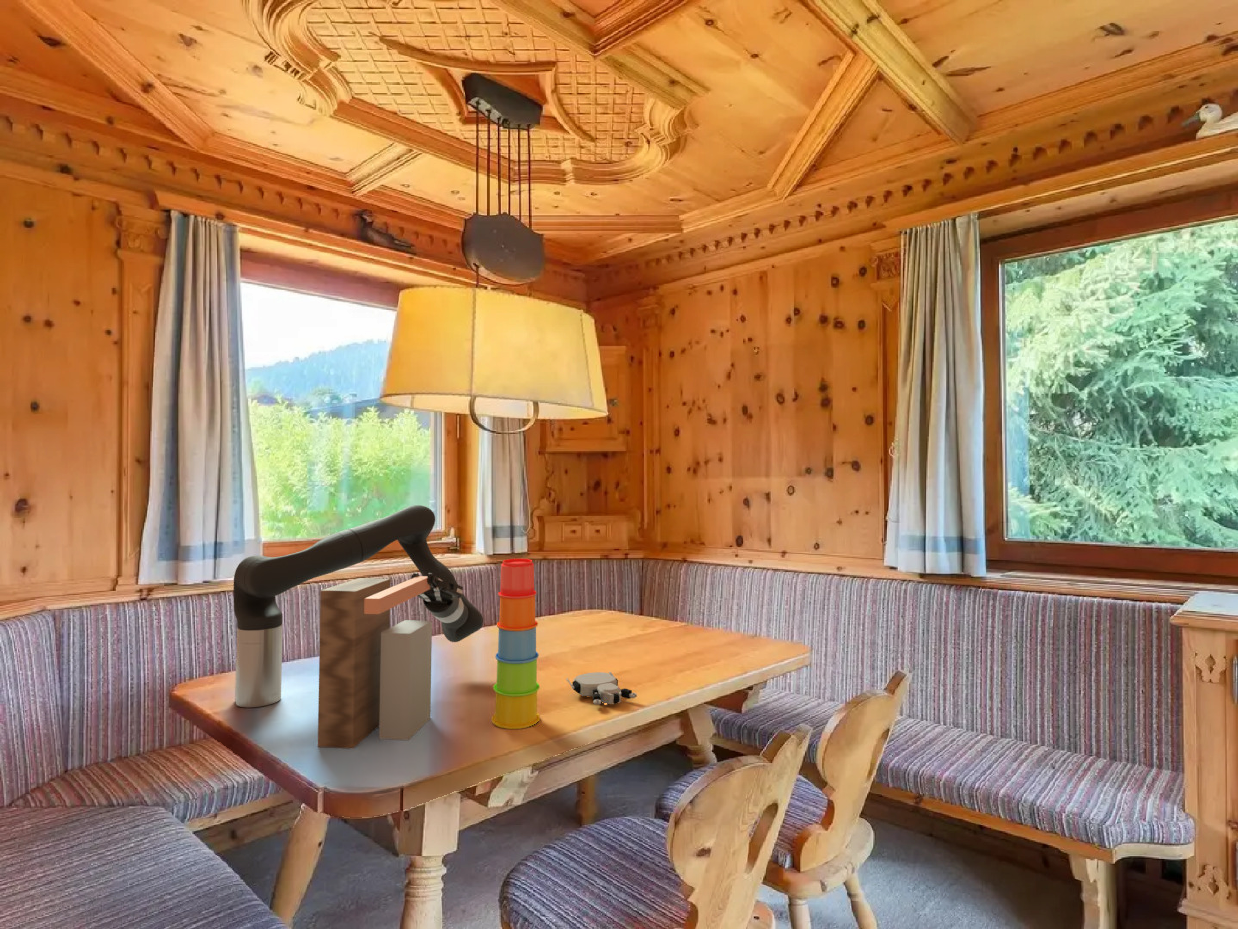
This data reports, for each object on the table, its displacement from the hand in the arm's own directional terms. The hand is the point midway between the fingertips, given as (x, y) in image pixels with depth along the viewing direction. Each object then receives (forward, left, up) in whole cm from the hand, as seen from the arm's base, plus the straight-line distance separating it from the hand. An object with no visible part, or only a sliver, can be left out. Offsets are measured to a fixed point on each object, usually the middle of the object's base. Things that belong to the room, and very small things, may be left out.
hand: (421, 577), depth 147 cm
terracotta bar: (+6, -10, -3) cm, 12 cm away
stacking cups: (+19, +10, -30) cm, 37 cm away
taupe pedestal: (+4, -7, -30) cm, 31 cm away
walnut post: (-3, -14, -30) cm, 33 cm away
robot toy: (+25, +33, -31) cm, 51 cm away
